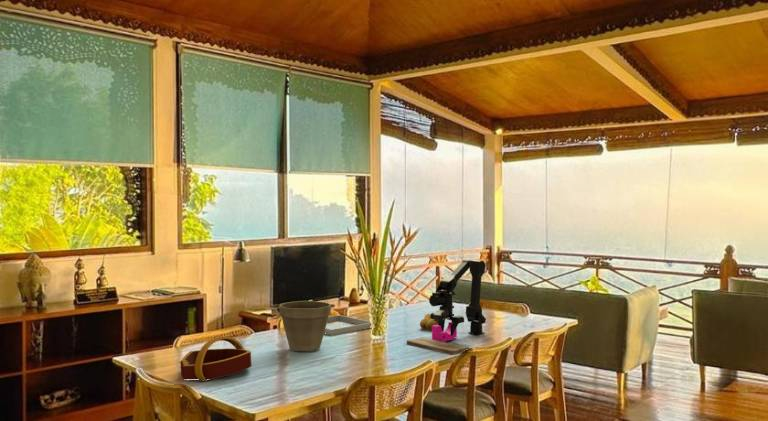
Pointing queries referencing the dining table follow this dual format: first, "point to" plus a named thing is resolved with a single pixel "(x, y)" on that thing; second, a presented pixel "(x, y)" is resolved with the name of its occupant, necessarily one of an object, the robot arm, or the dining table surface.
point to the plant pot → (305, 323)
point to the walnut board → (437, 345)
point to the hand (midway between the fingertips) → (447, 334)
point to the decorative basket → (215, 361)
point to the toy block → (443, 333)
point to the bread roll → (427, 322)
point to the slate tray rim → (361, 325)
